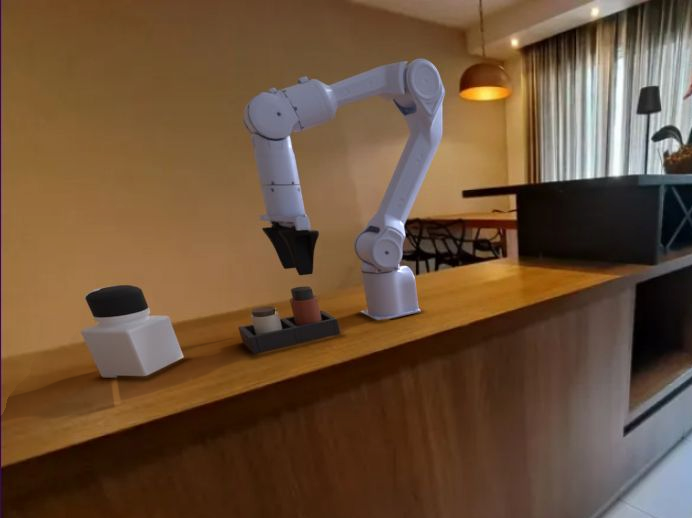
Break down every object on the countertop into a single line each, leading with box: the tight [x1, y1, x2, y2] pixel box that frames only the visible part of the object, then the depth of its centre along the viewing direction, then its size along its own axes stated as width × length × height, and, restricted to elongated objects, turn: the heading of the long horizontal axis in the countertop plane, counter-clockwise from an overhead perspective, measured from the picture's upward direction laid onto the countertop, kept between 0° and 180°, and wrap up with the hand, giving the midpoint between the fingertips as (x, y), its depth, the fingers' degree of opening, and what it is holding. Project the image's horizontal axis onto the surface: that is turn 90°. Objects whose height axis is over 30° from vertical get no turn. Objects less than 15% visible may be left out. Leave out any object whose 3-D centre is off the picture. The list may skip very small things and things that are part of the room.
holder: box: [238, 310, 341, 355], centre depth 74 cm, size 14×7×3 cm, turn 132°
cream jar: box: [250, 305, 283, 335], centre depth 71 cm, size 4×4×6 cm
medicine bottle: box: [80, 284, 185, 379], centre depth 62 cm, size 7×7×12 cm
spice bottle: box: [289, 285, 322, 326], centre depth 74 cm, size 4×4×8 cm
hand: (297, 271), depth 76 cm, fingers open, 7 cm apart
